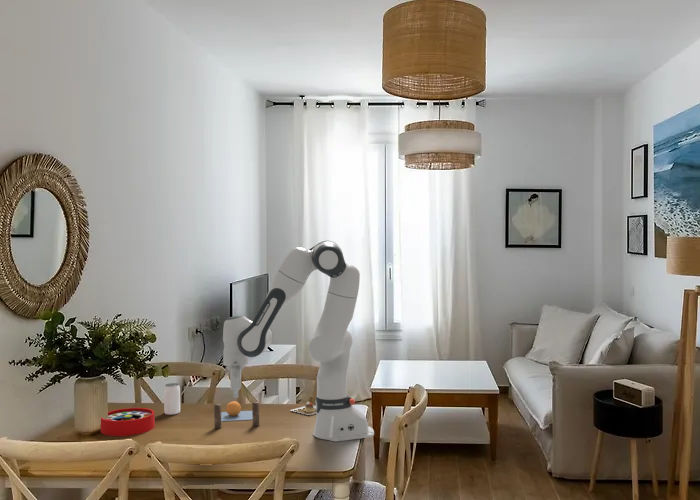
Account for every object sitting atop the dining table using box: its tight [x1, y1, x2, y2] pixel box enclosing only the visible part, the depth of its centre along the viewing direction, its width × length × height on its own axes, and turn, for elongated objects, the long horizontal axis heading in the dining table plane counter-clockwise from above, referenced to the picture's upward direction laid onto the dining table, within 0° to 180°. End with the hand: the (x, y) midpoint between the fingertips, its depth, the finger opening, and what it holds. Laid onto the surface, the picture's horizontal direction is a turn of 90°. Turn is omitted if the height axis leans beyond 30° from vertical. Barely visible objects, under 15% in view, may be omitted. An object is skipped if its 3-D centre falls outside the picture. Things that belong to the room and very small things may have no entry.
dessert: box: [289, 400, 317, 416], centre depth 288 cm, size 12×12×5 cm
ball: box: [225, 400, 242, 416], centre depth 281 cm, size 6×6×6 cm
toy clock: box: [100, 407, 156, 437], centre depth 265 cm, size 20×6×20 cm
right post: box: [251, 401, 260, 428], centre depth 266 cm, size 3×3×9 cm
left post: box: [213, 403, 222, 430], centre depth 264 cm, size 3×3×9 cm
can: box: [163, 382, 181, 416], centre depth 287 cm, size 6×6×12 cm
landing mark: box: [221, 410, 253, 423], centre depth 281 cm, size 14×14×1 cm
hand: (236, 397), depth 252 cm, fingers closed
